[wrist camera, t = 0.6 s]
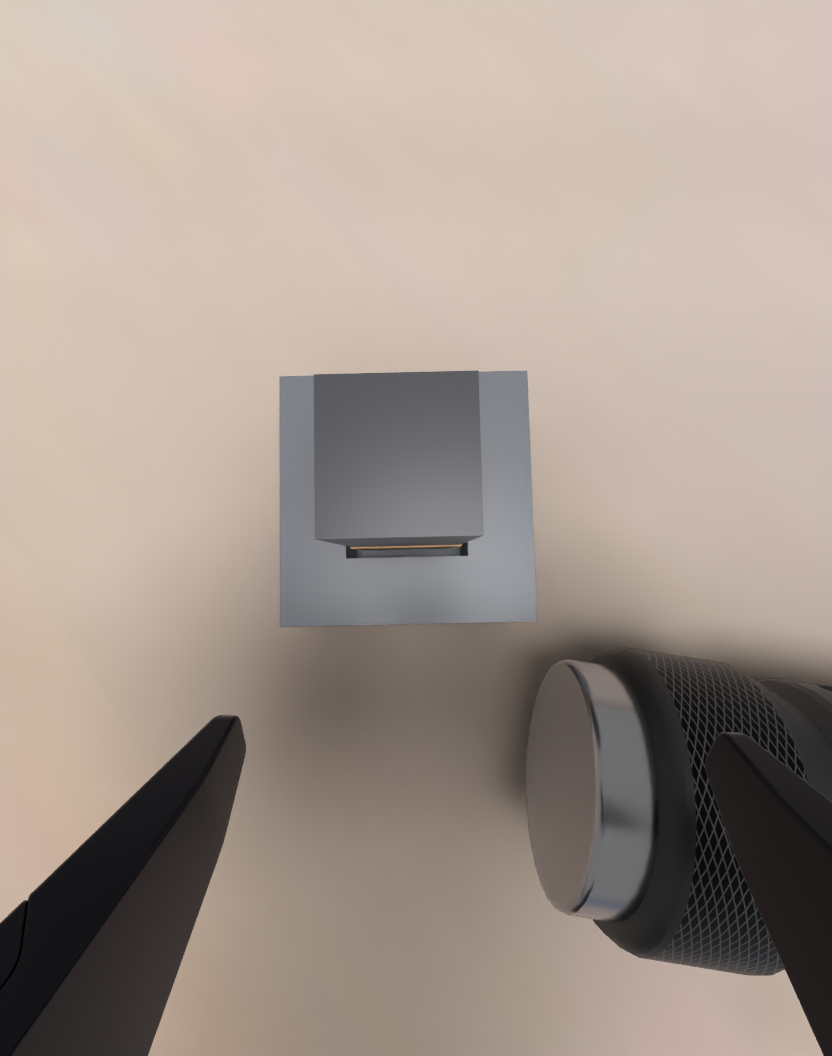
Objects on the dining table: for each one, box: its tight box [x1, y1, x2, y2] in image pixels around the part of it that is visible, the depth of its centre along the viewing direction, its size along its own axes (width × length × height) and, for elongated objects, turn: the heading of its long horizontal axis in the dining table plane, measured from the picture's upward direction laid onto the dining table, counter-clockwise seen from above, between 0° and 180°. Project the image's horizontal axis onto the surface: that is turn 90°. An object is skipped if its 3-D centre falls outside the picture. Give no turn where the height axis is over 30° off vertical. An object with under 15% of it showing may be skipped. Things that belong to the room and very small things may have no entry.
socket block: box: [280, 371, 537, 627], centre depth 21 cm, size 10×10×4 cm
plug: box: [314, 371, 484, 550], centre depth 17 cm, size 4×4×11 cm
